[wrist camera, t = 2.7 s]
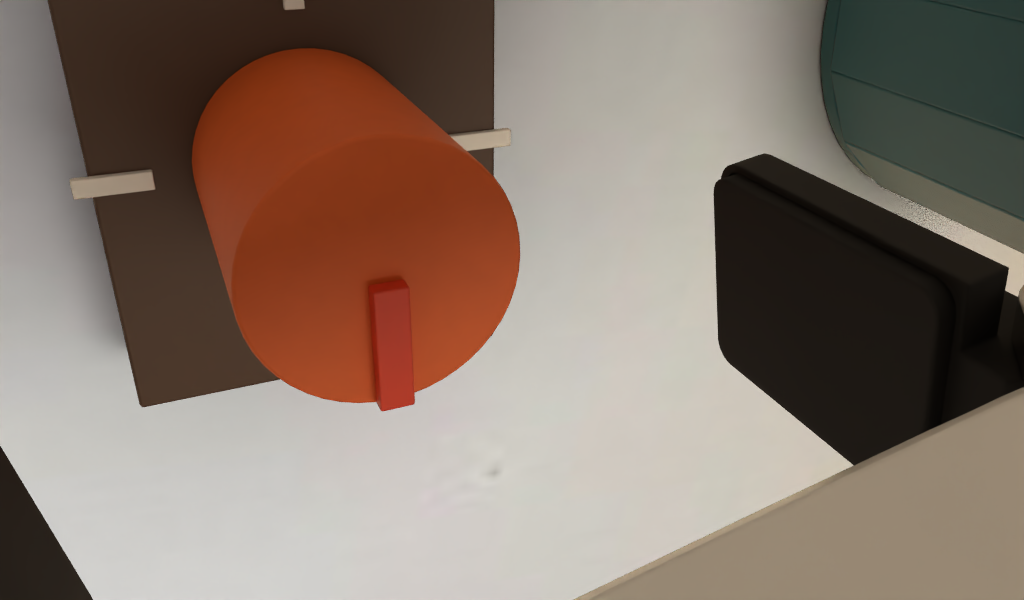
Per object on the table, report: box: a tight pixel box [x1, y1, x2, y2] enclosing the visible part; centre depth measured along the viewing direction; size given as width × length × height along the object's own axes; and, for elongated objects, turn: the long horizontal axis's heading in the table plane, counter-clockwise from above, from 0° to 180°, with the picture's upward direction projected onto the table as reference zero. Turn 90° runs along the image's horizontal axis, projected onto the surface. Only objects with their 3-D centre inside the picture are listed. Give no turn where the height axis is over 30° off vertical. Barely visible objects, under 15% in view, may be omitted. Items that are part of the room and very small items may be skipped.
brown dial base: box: [48, 0, 511, 407], centre depth 18 cm, size 10×9×3 cm
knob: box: [192, 48, 520, 411], centre depth 15 cm, size 4×4×6 cm
